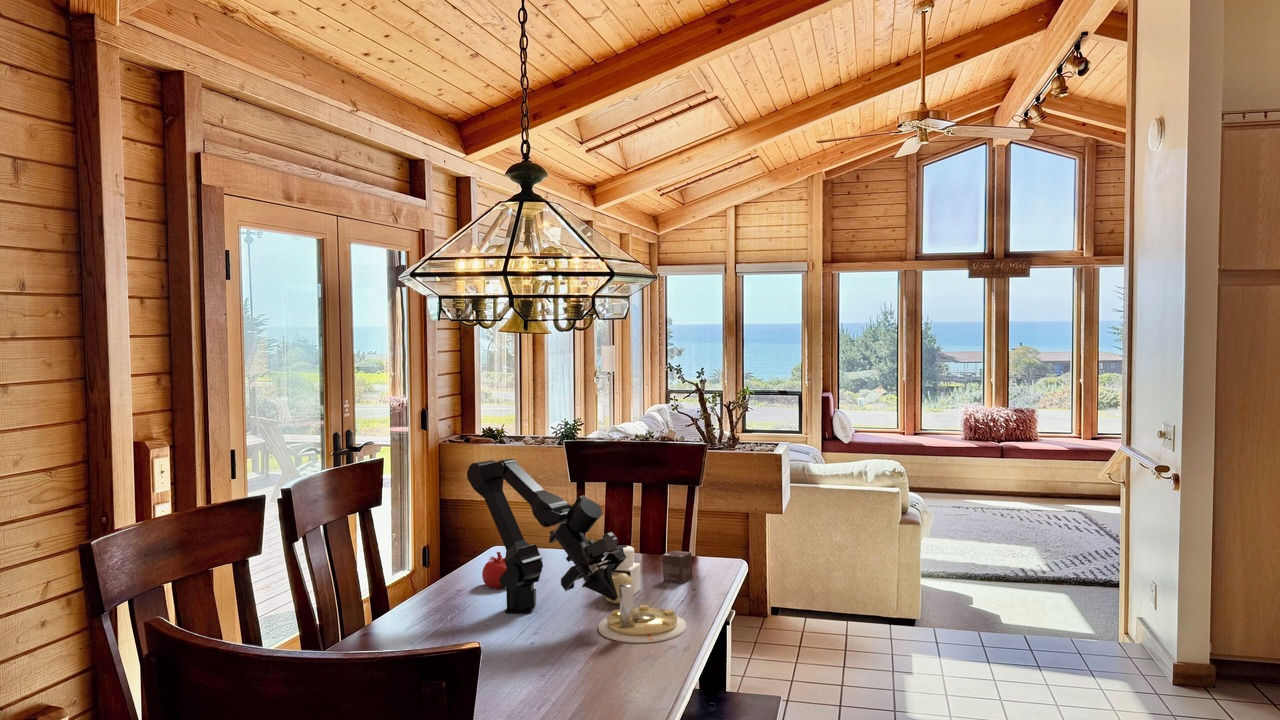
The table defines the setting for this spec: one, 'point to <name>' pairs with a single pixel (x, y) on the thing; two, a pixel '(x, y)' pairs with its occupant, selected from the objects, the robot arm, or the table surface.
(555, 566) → the table surface
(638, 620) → the brass lugged disc
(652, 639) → the base plate
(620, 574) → the apple
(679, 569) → the box
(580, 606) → the table surface
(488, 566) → the pomegranate
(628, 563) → the medicine bottle
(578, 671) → the table surface
